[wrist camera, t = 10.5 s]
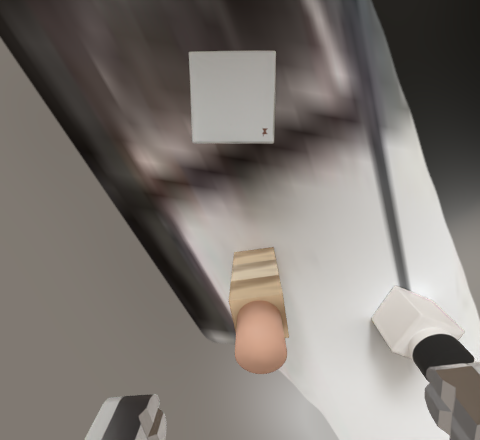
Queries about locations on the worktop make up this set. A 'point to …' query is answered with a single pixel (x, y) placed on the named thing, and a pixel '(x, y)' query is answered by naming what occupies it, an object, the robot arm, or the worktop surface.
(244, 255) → the tower base
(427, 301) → the medicine bottle
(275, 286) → the tower top
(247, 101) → the supplement box
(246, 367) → the pink rounded cylinder
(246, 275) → the tower mid
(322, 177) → the worktop surface
